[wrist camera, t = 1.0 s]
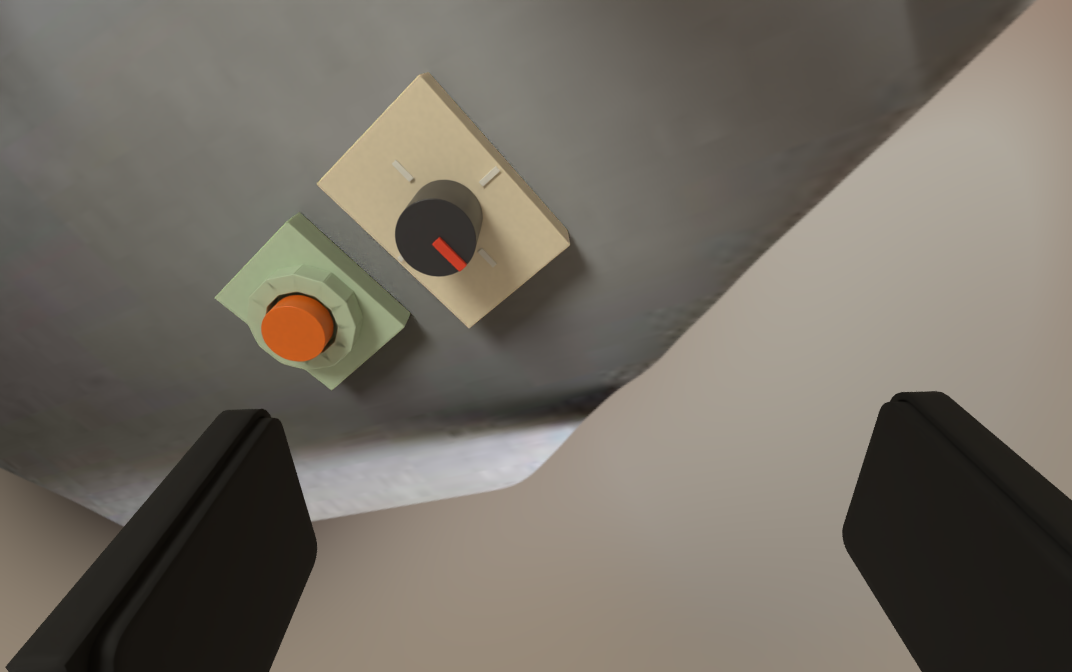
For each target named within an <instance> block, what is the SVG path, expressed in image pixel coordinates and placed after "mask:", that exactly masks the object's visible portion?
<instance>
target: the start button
mask: <svg viewBox="0 0 1072 672" xmlns="http://www.w3.org/2000/svg"><path fill="white" fill-rule="evenodd" d="M333 330H334V324H333V320H332V317H331V315H330V313H329V312H328V310H327V309H326V308H325V307H324V306H323V305H322V304H321V303H319V302H318V301H316V300H315V299H312V298H310V297H307V296H302V295H292V296H288V297H285V298H283V299H281V300H280V301H279V302H278V303H277V304H276V305H275V306H274V307H273V308H272V309H271V310H270V311H269V312H268V313H267V314H266V315H265V317H264V318H263V321H262V325H261V332H262V337H263V339H264V341H265V343H266V344H267V346H268V347H269V348H270V349H271V350H272V351H273V352H274V353H275V354H277V355H278V356H280V357H282V358H284V359H287V360H291V361H297V362H302V361H308V360H311V359H313V358H315V357H317V356H318V355H319V354H320V353H321V352H322V350H323V349H324V347H325V346H326V344H327V343H328V341H329V340H330V338H331V337H332V334H333Z"/></svg>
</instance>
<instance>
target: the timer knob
mask: <svg viewBox="0 0 1072 672" xmlns="http://www.w3.org/2000/svg"><path fill="white" fill-rule="evenodd" d="M482 220H483V215H482V209H481V206H480V203H479V201H478V199H477V198H476V196H475V195H474V194H473V192H472V191H471V190H470V189H468V188H467V187H466V186H464V185H462V184H461V183H458V182H456V181H452V180H436V181H432V182H430V183H428V184H426V185H425V186H423V187H422V188H421V189H420V190H419V191H418V192H417V193H416V195H415V196H414V197H413V199H412V200H411V201H410V203H409V204H408V205H407V207H406V208H405V209H404V211H403V212H402V213H401V215H400V217H399V219H398V221H397V224H396V228H395V241H396V245H397V248H398V251H399V253H400V254H401V256H402V257H403V259H404V260H405V261H406V262H407V263H408V264H409V265H410V266H411V267H412V268H414V269H415V270H417V271H419V272H421V273H423V274H426V275H429V276H436V277H442V276H448V275H452V274H454V273H457V272H460V271H461V270H463V269H464V268H465V267H466V266H467V264H468V263H469V262H470V260H471V259H472V257H473V255H474V252H475V249H476V245H477V241H478V238H479V234H480V230H481V226H482Z"/></svg>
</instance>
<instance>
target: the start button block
mask: <svg viewBox="0 0 1072 672" xmlns="http://www.w3.org/2000/svg"><path fill="white" fill-rule="evenodd" d="M292 295H302V296H307V297H310V298H312V299H315V300H316V301H318V302H319V303H321V304H322V305H323V306H324V307H325V308H326V309H327V310H328V312H329V313H330V315H331V317H332V320H333V324H334V330H333V334H332V337H331V338H330V340H329V341H328V343H327V344H326V346H325V347H324V349H323V350H322V352H321V353H320V354H319V355H318V356H317V357H315V358H313V359H311V360H308V361H302V362H297V361H291V360H287V359H284V358H282V357H280V356H278V355H277V354H275V353H274V352H273V351H272V350H271V349H270V348H269V347H268V346H267V344H266V343H265V341H264V339H263V337H262V332H261V325H262V321H263V318H264V317H265V315H266V314H267V313H268V312H269V311H270V310H271V309H272V308H273V307H274V306H275V305H276V304H277V303H278V302H279V301H280V300H281V299H283V298H285V297H288V296H292ZM215 299H216V300H217V301H219V302H220V303H221V304H223V305H224V306H225V307H226V308H228V309H229V310H230V311H231V312H233V313H234V314H235V315H237V316H238V317H239V318H240V319H242V320H243V321H244V322H245V323H247V324H248V325H249V327H250V329H251V331H252V333H253V335H254V337H255V339H256V341H257V343H258V345H259V346H260V347H261V348H262V349H263V350H265V351H266V352H267V353H269V354H270V355H271V356H272V357H274V358H275V359H276V360H278V361H279V362H280V363H282V364H285V365H289V366H293V367H297V368H301V369H304V370H306V371H308V372H309V373H310V374H311V375H313V376H314V377H315V378H316V379H318V380H319V381H320V382H322V383H323V384H324V385H325V386H327V387H328V388H329V389H330V390H333V389H334V388H335V387H336V386H338V385H339V384H340V383H341V382H342V381H343V380H344V379H346V378H347V377H348V376H349V375H350V374H351V373H352V372H354V371H355V370H356V369H357V368H358V367H359V366H361V365H362V364H363V363H364V362H365V361H366V360H367V359H369V358H370V357H371V356H372V355H373V354H374V353H375V352H377V351H378V350H379V349H380V348H381V347H382V346H383V345H385V344H386V343H387V342H388V341H389V340H390V339H392V338H393V337H394V336H395V335H396V334H397V333H398V332H400V331H401V330H402V329H403V328H404V327H405V325H406V323H407V321H408V318H409V316H410V314H411V313H410V312H409V311H408V310H407V309H406V308H404V307H403V306H402V305H401V304H400V303H399V302H398V301H397V300H396V299H395V298H393V297H392V296H391V295H390V294H389V293H388V292H387V291H386V290H385V289H384V288H382V287H381V286H380V285H379V284H378V283H377V282H376V281H375V280H374V279H373V278H371V277H370V276H369V275H368V274H367V273H366V272H365V271H364V270H363V269H362V268H360V267H359V266H358V265H357V264H356V263H355V262H354V261H353V260H352V259H351V258H349V257H348V256H347V255H346V254H345V253H344V252H343V251H342V250H341V249H340V248H338V247H337V246H336V245H335V244H334V243H333V242H332V241H331V240H330V239H329V238H327V237H326V236H325V235H324V234H323V233H322V232H321V231H320V230H319V229H318V228H316V227H315V226H314V225H313V224H312V223H311V222H310V221H309V220H308V219H307V218H305V217H304V216H303V215H302V214H301V213H300V212H299V213H297V214H296V215H295V216H293V217H292V218H291V219H289V220H288V221H287V222H286V223H285V224H284V225H283V226H282V227H281V228H280V229H279V230H278V231H277V232H276V233H275V234H274V235H273V237H272V238H271V239H270V240H269V241H268V242H267V243H266V244H265V245H264V246H263V247H262V248H261V249H260V250H259V251H258V252H257V253H256V255H255V256H254V257H253V258H252V259H251V260H250V261H249V262H248V263H247V264H246V265H245V266H244V267H243V268H242V269H241V270H240V271H239V272H238V274H237V275H236V276H235V277H234V278H233V279H232V280H231V281H230V282H229V283H228V284H227V285H226V286H225V287H224V288H223V289H222V290H221V292H220V293H219V294H218V295H217V296H216V297H215Z"/></svg>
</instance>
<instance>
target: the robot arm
mask: <svg viewBox="0 0 1072 672" xmlns="http://www.w3.org/2000/svg"><path fill="white" fill-rule="evenodd" d="M842 533H843V541H844V545H845V548H846V549H847V552H848V554H849V555H850V557H851V558H852V560H853V562H854V563H855V565H856V566H857V568H858V570H859V571H860V573H861V575H862V576H863V578H864V579H865V581H866V582H867V584H868V586H869V587H870V589H871V591H872V592H873V594H874V595H875V597H876V599H877V600H878V602H879V603H880V605H881V607H882V608H883V610H884V612H885V613H886V615H887V616H888V618H889V620H890V621H891V623H892V624H893V626H894V628H895V629H896V631H897V632H898V634H899V636H900V637H901V639H902V641H903V642H904V644H905V645H906V647H907V649H908V650H909V652H910V654H911V655H912V657H913V658H914V660H915V661H916V663H917V665H918V666H919V668H920V670H921V671H922V672H1072V500H1071V499H1069V498H1068V497H1067V496H1066V495H1065V494H1064V493H1062V492H1061V491H1060V490H1059V489H1058V488H1056V487H1055V486H1054V485H1053V484H1052V483H1051V482H1049V481H1048V480H1047V479H1046V478H1045V477H1043V476H1042V475H1041V474H1040V473H1039V472H1038V471H1036V470H1035V469H1034V468H1033V467H1032V466H1030V465H1029V464H1028V463H1027V462H1026V461H1025V460H1023V459H1022V458H1021V457H1020V456H1019V455H1017V454H1016V453H1015V452H1014V451H1013V450H1011V449H1010V448H1009V447H1008V446H1007V445H1006V444H1004V443H1003V442H1002V441H1001V440H1000V439H999V438H997V437H996V436H995V435H994V434H993V433H991V432H990V431H989V430H988V429H987V428H985V427H984V426H983V425H982V424H981V423H979V422H978V421H977V420H976V419H975V418H974V417H972V416H971V415H970V414H969V413H968V412H967V411H965V410H964V409H963V408H962V407H961V406H960V405H958V404H957V403H956V402H955V401H954V400H952V399H951V398H950V397H949V396H947V395H946V394H944V393H942V392H937V391H931V392H901V393H898V394H895V395H894V396H893V397H892V399H891V401H890V402H887V403H885V404H884V405H883V406H882V407H881V409H880V411H879V414H878V417H877V421H876V424H875V427H874V430H873V434H872V437H871V440H870V443H869V446H868V449H867V452H866V455H865V459H864V462H863V465H862V468H861V471H860V474H859V478H858V481H857V484H856V487H855V490H854V493H853V497H852V500H851V503H850V506H849V509H848V512H847V516H846V519H845V522H844V525H843V530H842ZM316 553H317V542H316V537H315V533H314V530H313V527H312V523H311V520H310V517H309V513H308V510H307V507H306V503H305V500H304V496H303V493H302V490H301V486H300V483H299V480H298V476H297V473H296V469H295V466H294V463H293V459H292V456H291V453H290V449H289V446H288V442H287V439H286V436H285V432H284V429H283V426H282V423H281V422H280V420H279V419H277V418H271V416H270V414H269V413H268V412H267V411H266V410H264V409H244V410H226V411H223V412H222V413H221V414H219V415H218V416H217V418H216V419H215V420H214V421H213V422H212V424H211V425H210V426H209V427H208V428H207V429H206V431H205V432H204V433H203V434H202V435H201V437H200V438H199V439H198V440H197V441H196V442H195V444H194V445H193V446H192V447H191V448H190V450H189V451H188V452H187V453H186V454H185V455H184V457H183V458H182V459H181V460H180V461H179V463H178V464H177V465H176V466H175V467H174V468H173V470H172V471H171V472H170V473H169V474H168V476H167V477H166V478H165V479H164V480H163V481H162V483H161V484H160V485H159V486H158V487H157V489H156V490H155V491H154V492H153V493H152V494H151V496H150V497H149V498H148V499H147V500H146V502H145V503H144V504H143V505H142V506H141V507H140V509H139V510H138V511H137V512H136V513H135V514H134V516H133V517H132V518H131V519H130V520H129V522H128V523H127V524H126V525H125V526H124V527H123V529H122V530H121V531H120V532H119V534H118V535H117V536H116V537H115V538H114V540H113V541H112V542H111V543H110V544H109V545H108V547H107V548H106V549H105V550H104V551H103V552H102V553H101V555H100V556H99V557H98V558H97V560H96V561H95V562H94V563H93V564H92V565H91V567H90V568H89V569H88V570H87V571H86V572H85V574H84V575H83V576H82V577H81V578H80V580H79V581H78V582H77V583H76V584H75V585H74V587H73V588H72V589H71V590H70V591H69V592H68V594H67V595H66V596H65V597H64V598H63V600H62V601H61V602H60V603H59V604H58V606H57V607H56V608H55V609H54V610H53V611H52V613H51V614H50V615H49V616H48V617H47V619H46V620H45V621H44V622H43V623H42V624H41V625H40V627H39V628H38V629H37V630H36V632H35V633H34V634H33V635H32V636H31V637H30V638H29V640H28V641H27V642H26V643H25V644H24V646H23V647H22V648H21V649H20V650H19V651H18V653H17V654H16V655H15V656H14V657H13V659H12V660H11V661H10V662H9V663H8V664H7V666H6V669H7V670H8V671H9V672H269V670H270V668H271V666H272V663H273V661H274V658H275V656H276V654H277V652H278V649H279V647H280V644H281V642H282V639H283V637H284V635H285V632H286V630H287V628H288V625H289V623H290V620H291V618H292V616H293V613H294V611H295V609H296V606H297V604H298V601H299V599H300V596H301V594H302V592H303V590H304V587H305V585H306V582H307V580H308V578H309V575H310V573H311V571H312V568H313V566H314V563H315V559H316Z"/></svg>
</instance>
